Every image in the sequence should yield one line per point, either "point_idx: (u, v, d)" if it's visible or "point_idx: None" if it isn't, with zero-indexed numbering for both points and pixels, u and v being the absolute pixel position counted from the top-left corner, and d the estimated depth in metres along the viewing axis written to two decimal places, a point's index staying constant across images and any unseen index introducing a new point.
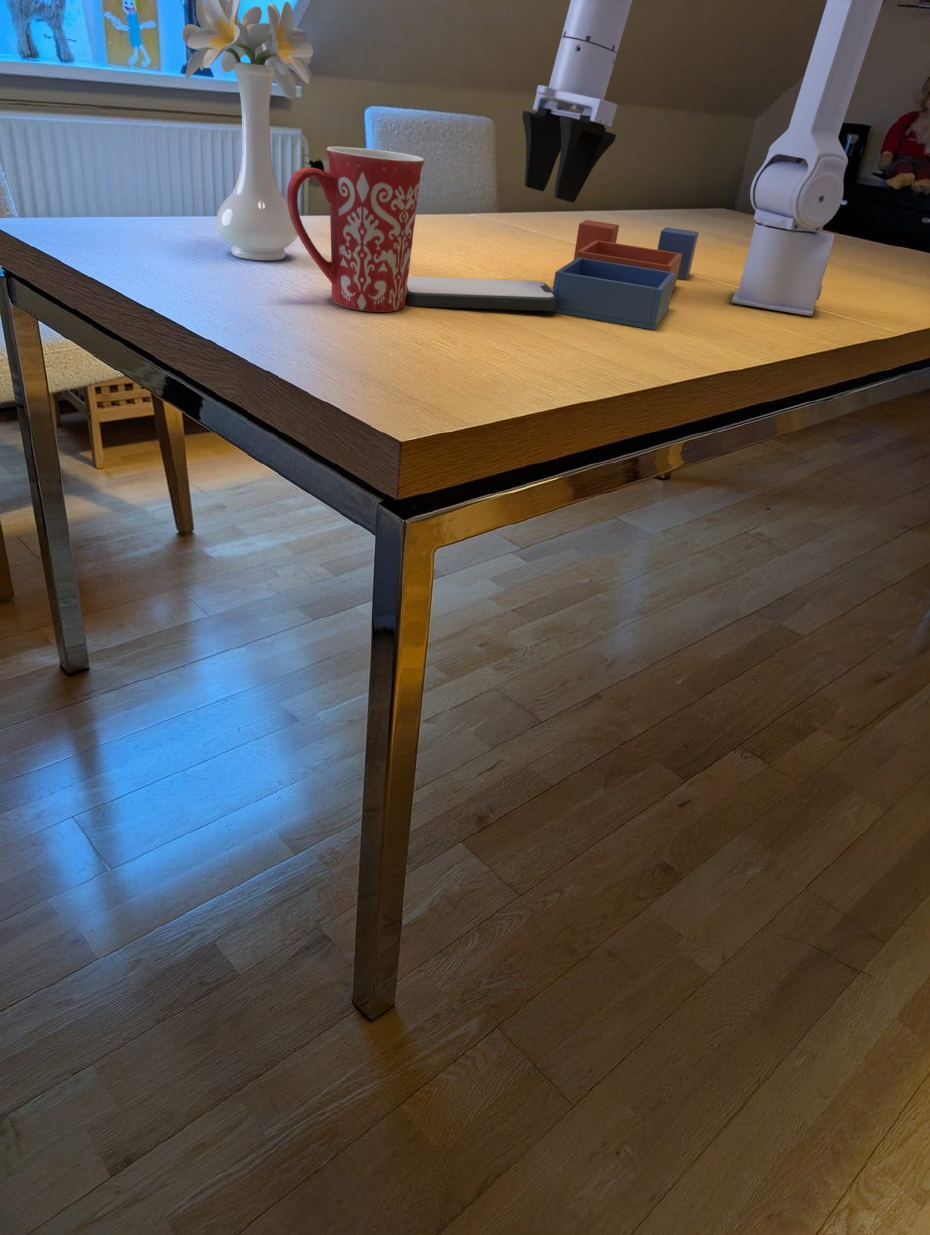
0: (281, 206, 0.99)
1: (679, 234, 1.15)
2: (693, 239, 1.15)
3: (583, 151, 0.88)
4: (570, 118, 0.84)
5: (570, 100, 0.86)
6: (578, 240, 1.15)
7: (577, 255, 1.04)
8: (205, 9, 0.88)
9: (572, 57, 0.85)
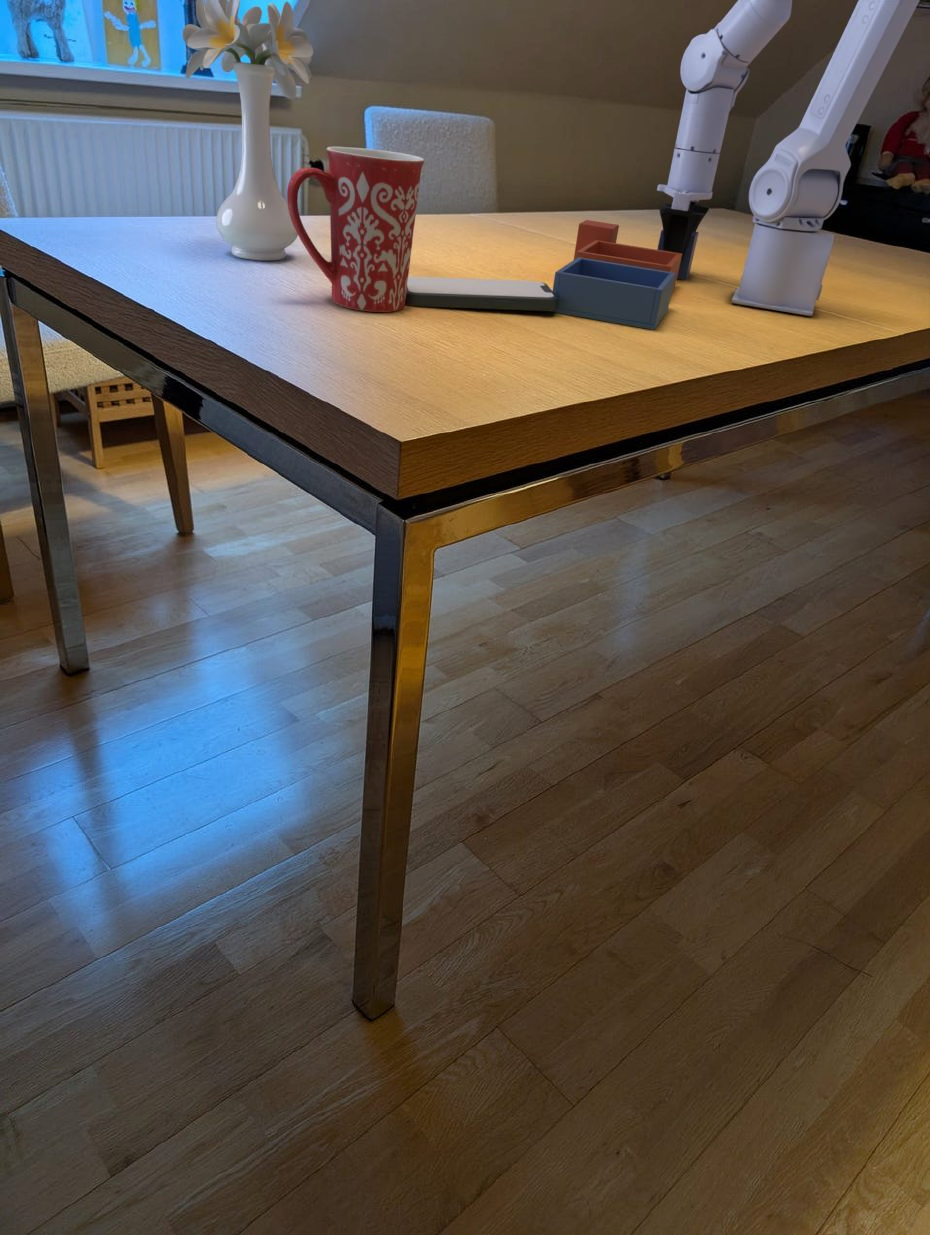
0: (281, 206, 0.99)
1: None
2: (693, 239, 1.15)
3: (681, 229, 1.14)
4: (660, 207, 1.12)
5: (669, 194, 1.12)
6: (578, 240, 1.15)
7: (577, 255, 1.04)
8: (205, 9, 0.88)
9: (675, 162, 1.12)
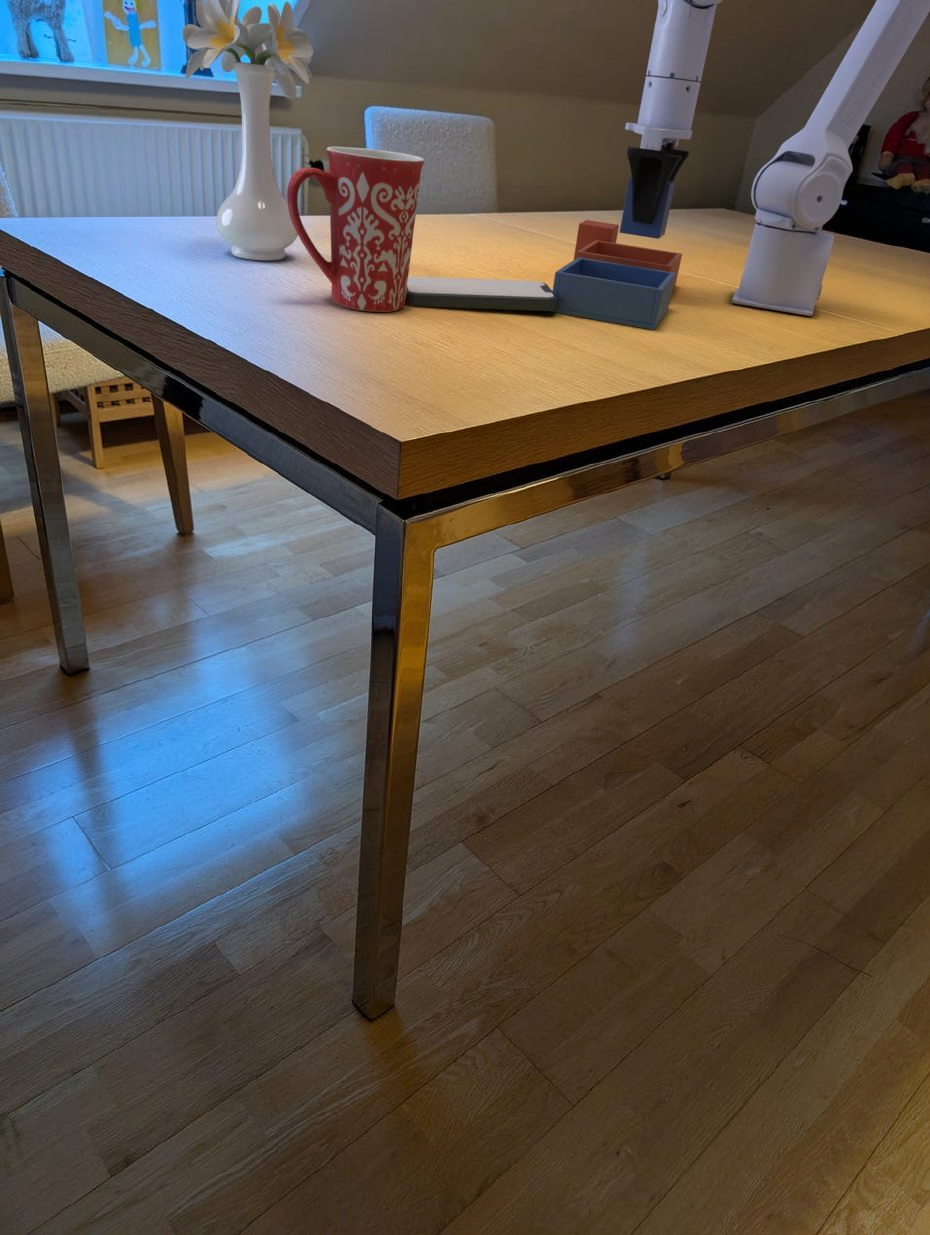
0: (281, 206, 0.99)
1: None
2: (667, 188, 0.95)
3: (653, 176, 0.94)
4: (628, 148, 0.92)
5: (638, 132, 0.92)
6: (578, 240, 1.15)
7: (577, 255, 1.04)
8: (205, 9, 0.88)
9: (646, 93, 0.92)
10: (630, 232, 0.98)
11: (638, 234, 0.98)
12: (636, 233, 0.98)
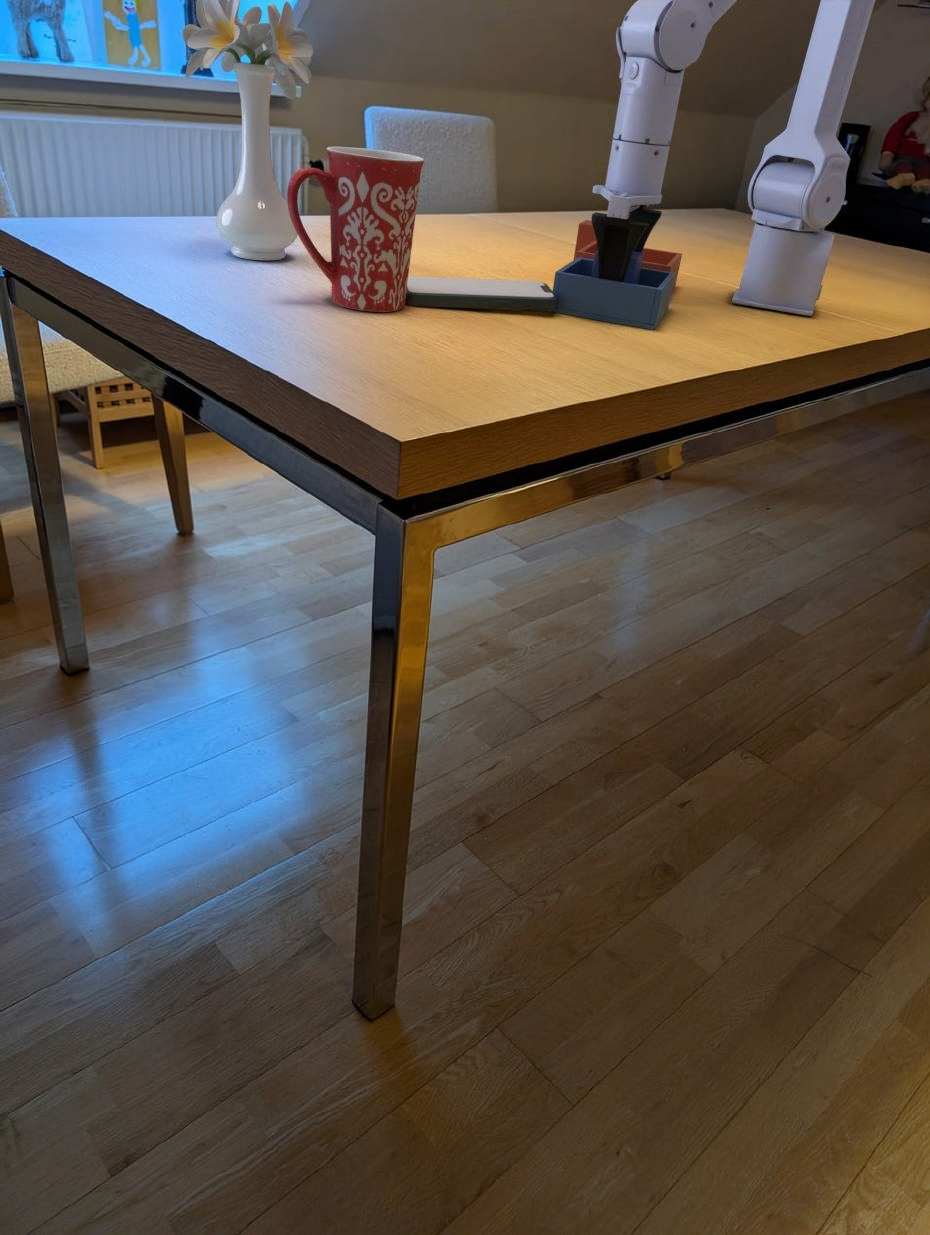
0: (281, 206, 0.99)
1: None
2: (635, 263, 0.91)
3: (620, 243, 0.89)
4: (592, 215, 0.87)
5: (606, 197, 0.88)
6: (578, 240, 1.15)
7: (577, 255, 1.04)
8: (205, 9, 0.88)
9: (613, 157, 0.88)
10: None
11: None
12: None
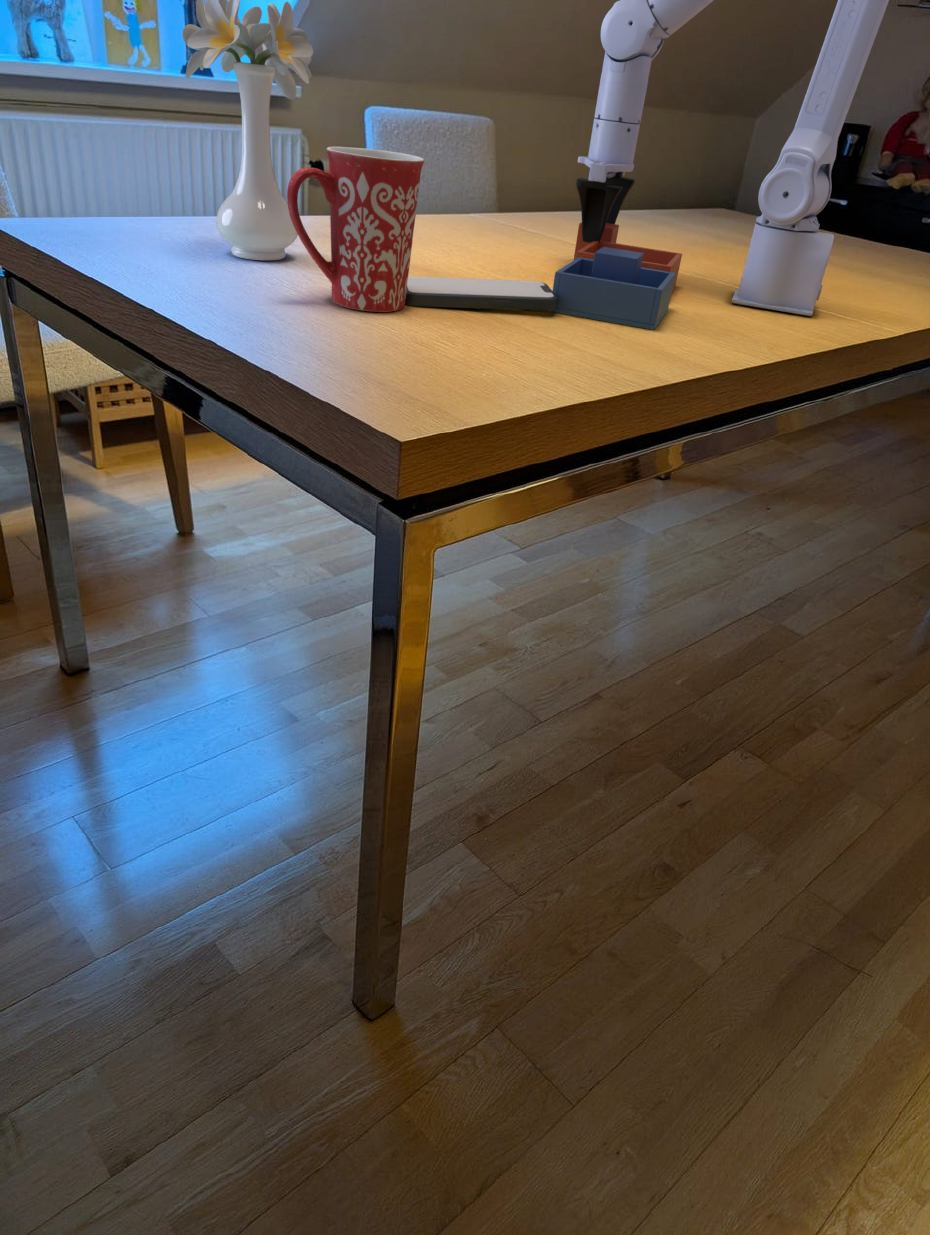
0: (281, 206, 0.99)
1: (617, 256, 0.92)
2: (635, 263, 0.91)
3: (599, 203, 1.10)
4: (577, 179, 1.08)
5: (588, 165, 1.09)
6: (578, 240, 1.15)
7: (577, 255, 1.04)
8: (205, 9, 0.88)
9: (594, 132, 1.09)
10: None
11: None
12: None
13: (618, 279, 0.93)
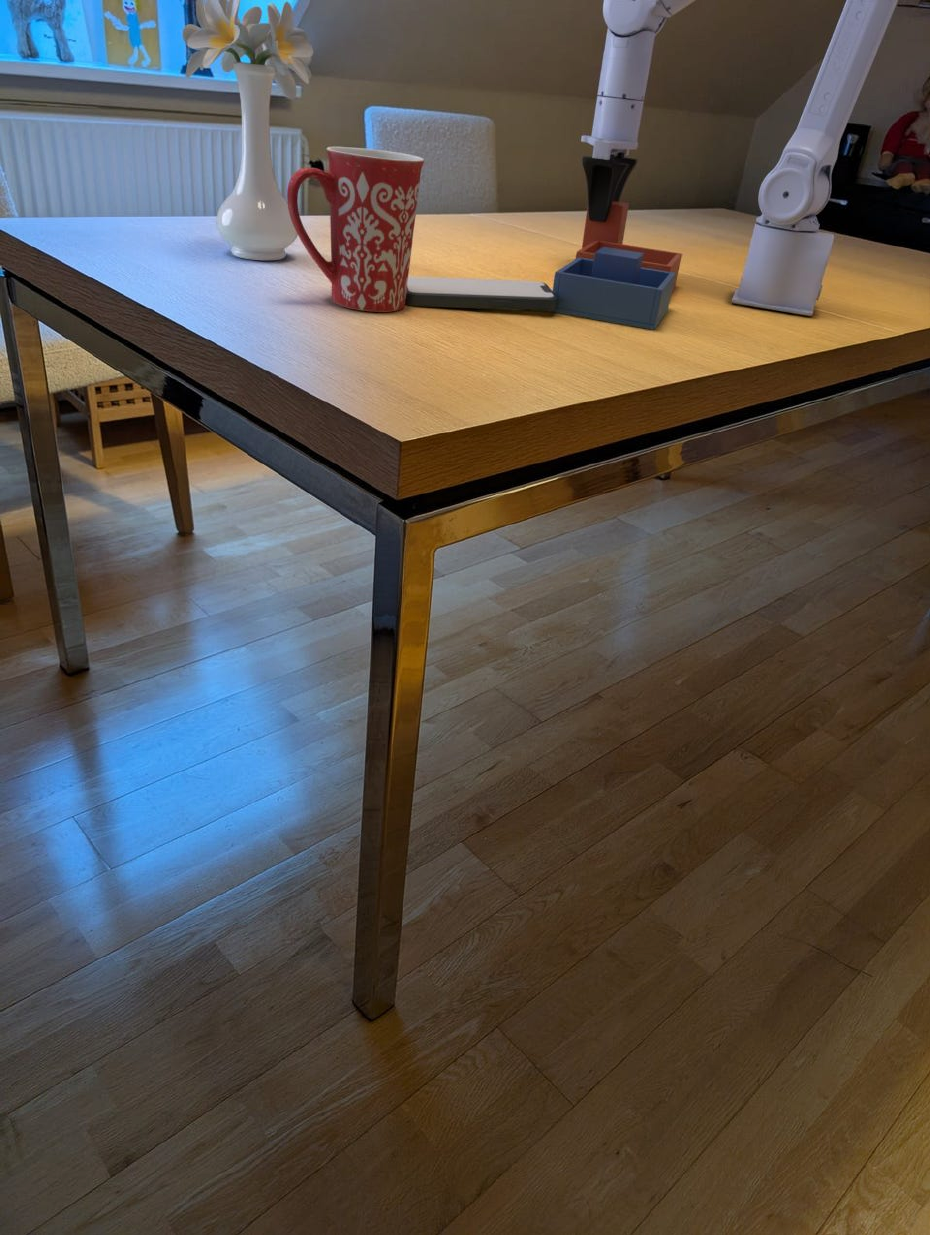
0: (281, 206, 0.99)
1: (617, 256, 0.92)
2: (635, 263, 0.91)
3: (605, 181, 1.10)
4: (583, 157, 1.08)
5: (591, 143, 1.08)
6: (587, 219, 1.13)
7: (577, 255, 1.04)
8: (205, 9, 0.88)
9: (597, 110, 1.07)
10: None
11: None
12: None
13: (618, 279, 0.93)
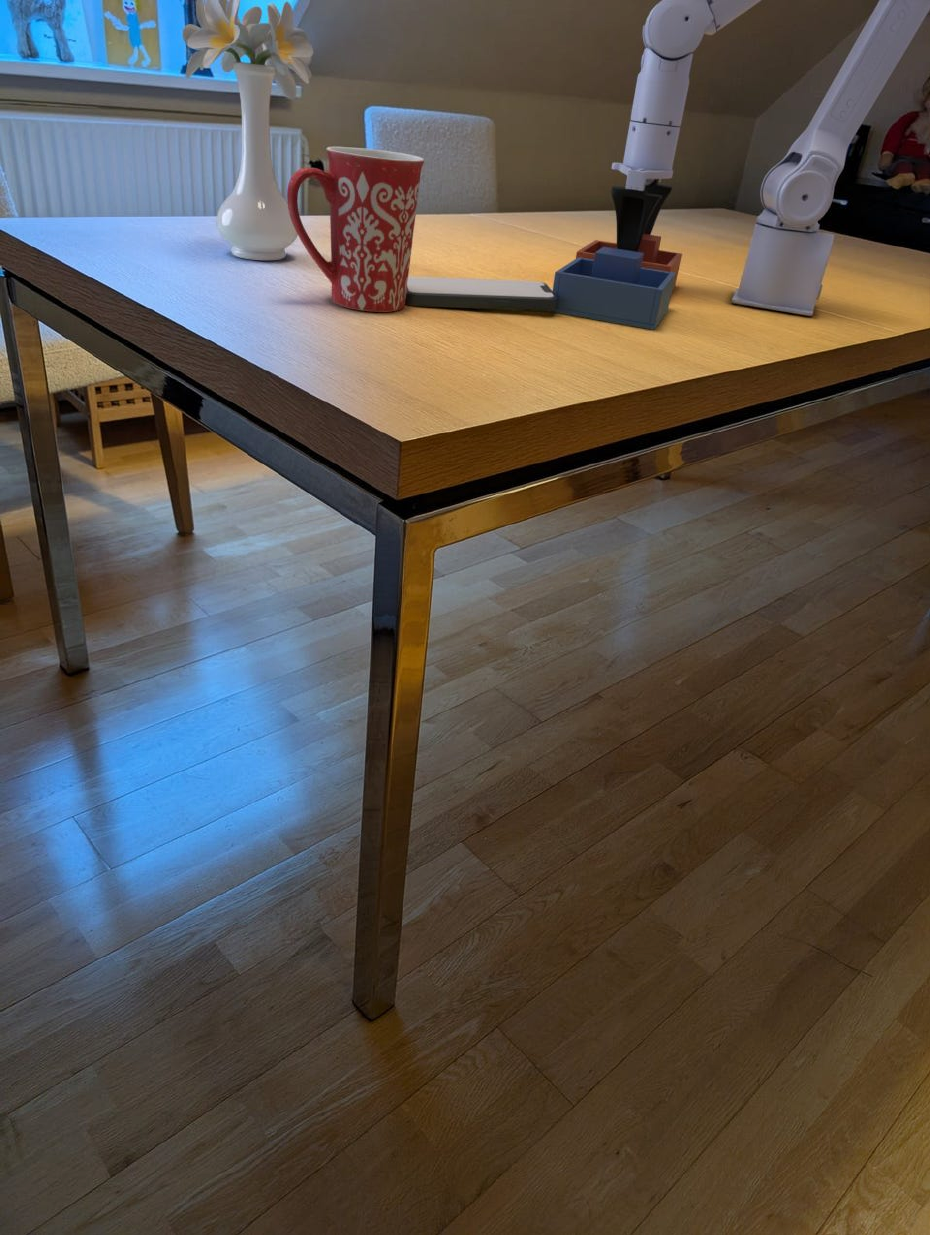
0: (281, 206, 0.99)
1: (617, 256, 0.92)
2: (635, 263, 0.91)
3: (636, 213, 1.01)
4: (612, 188, 0.99)
5: (624, 172, 1.00)
6: None
7: (577, 255, 1.04)
8: (205, 9, 0.88)
9: (630, 137, 1.00)
10: None
11: None
12: None
13: (618, 279, 0.93)
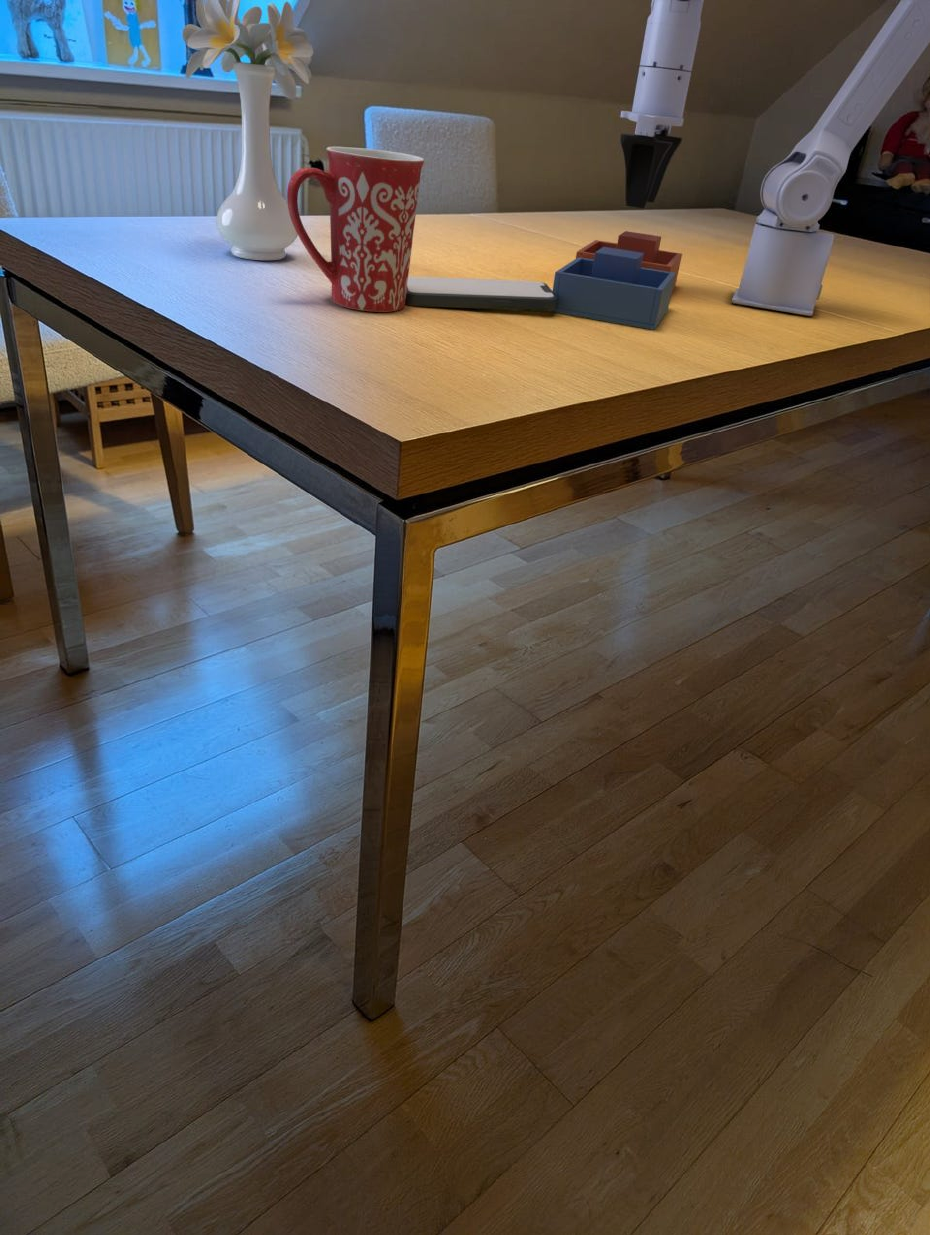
0: (281, 206, 0.99)
1: (617, 256, 0.92)
2: (635, 263, 0.91)
3: (645, 161, 0.98)
4: (621, 135, 0.96)
5: (633, 119, 0.97)
6: None
7: (577, 255, 1.04)
8: (205, 9, 0.88)
9: (639, 82, 0.97)
10: None
11: None
12: None
13: (618, 279, 0.93)
